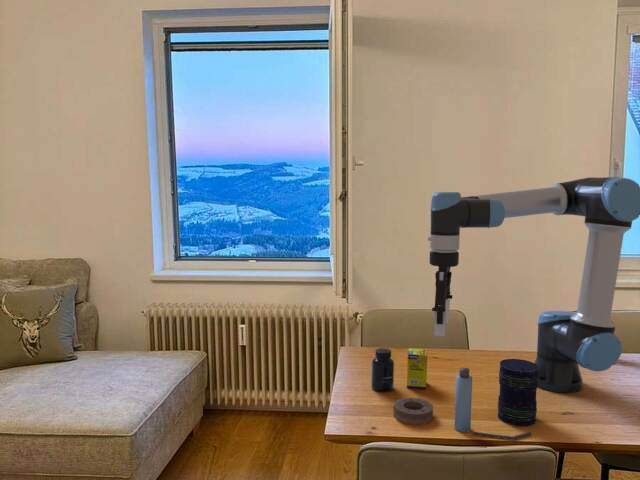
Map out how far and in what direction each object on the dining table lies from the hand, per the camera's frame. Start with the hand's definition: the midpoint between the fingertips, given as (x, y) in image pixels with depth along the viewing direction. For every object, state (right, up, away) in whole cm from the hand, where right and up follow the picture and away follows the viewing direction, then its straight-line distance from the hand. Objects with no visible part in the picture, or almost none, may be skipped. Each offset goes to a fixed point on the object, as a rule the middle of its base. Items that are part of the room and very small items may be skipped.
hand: (441, 328), depth 142 cm
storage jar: (+20, -24, 0) cm, 32 cm away
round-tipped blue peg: (+4, -25, -6) cm, 26 cm away
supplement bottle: (-13, -22, +21) cm, 33 cm away
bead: (-7, -24, +2) cm, 25 cm away
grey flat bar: (+13, -25, -9) cm, 30 cm away
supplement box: (-2, -22, +23) cm, 32 cm away
